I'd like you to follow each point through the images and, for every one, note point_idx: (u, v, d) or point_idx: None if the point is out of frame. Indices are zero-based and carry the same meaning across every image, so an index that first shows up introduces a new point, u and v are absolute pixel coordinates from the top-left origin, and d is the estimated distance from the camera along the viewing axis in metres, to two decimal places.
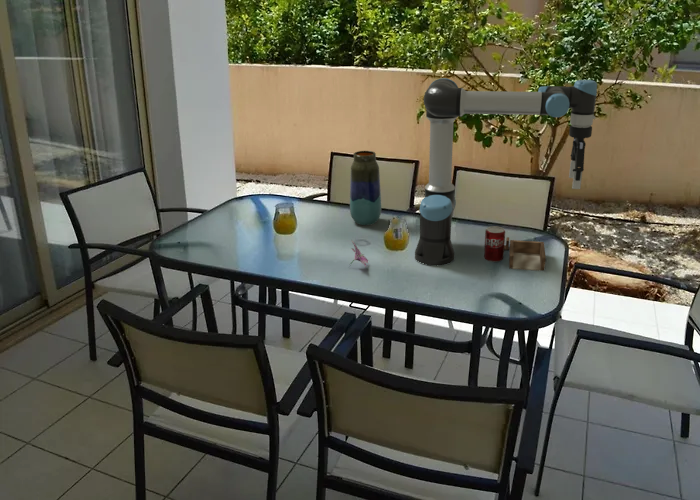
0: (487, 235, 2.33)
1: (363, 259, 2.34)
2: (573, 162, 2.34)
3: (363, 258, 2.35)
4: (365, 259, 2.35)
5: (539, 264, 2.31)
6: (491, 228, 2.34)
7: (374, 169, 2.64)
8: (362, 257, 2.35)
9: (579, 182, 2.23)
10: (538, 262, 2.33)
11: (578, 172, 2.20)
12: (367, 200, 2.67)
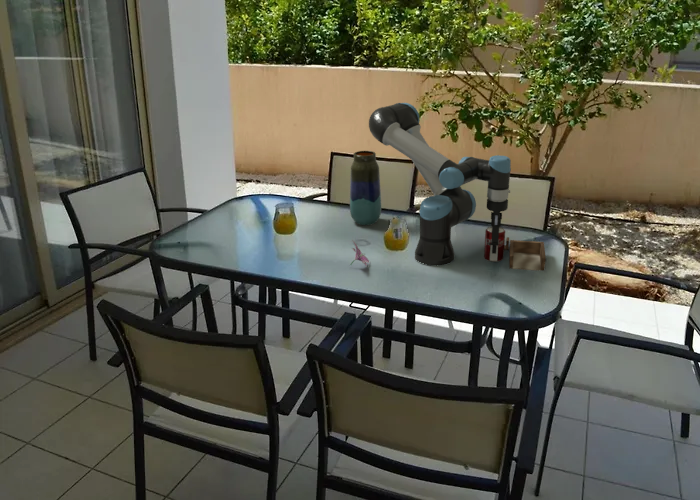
0: (487, 235, 2.33)
1: (364, 259, 2.35)
2: None
3: (364, 258, 2.35)
4: (366, 259, 2.36)
5: (539, 264, 2.31)
6: (491, 228, 2.34)
7: (374, 169, 2.64)
8: (363, 257, 2.35)
9: (496, 255, 2.33)
10: (538, 262, 2.33)
11: (494, 246, 2.30)
12: (367, 200, 2.67)
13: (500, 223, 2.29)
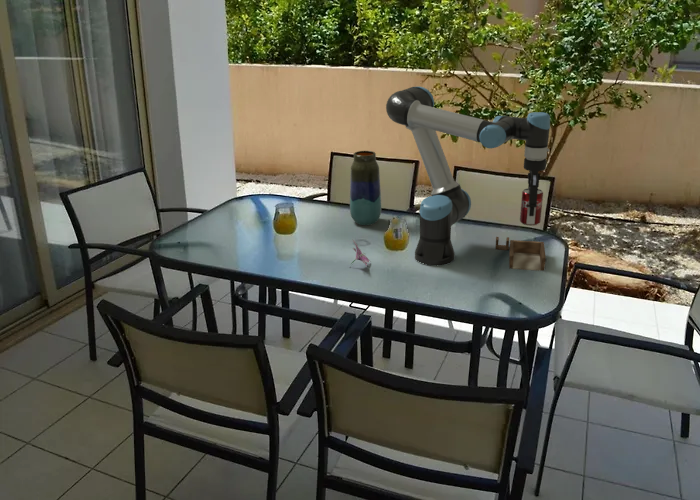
0: (524, 197, 2.22)
1: (364, 259, 2.35)
2: None
3: (364, 258, 2.35)
4: (366, 259, 2.36)
5: (539, 264, 2.31)
6: (528, 190, 2.24)
7: (374, 169, 2.64)
8: (363, 257, 2.35)
9: (533, 217, 2.22)
10: (538, 262, 2.33)
11: (531, 208, 2.20)
12: (367, 200, 2.67)
13: (538, 184, 2.19)
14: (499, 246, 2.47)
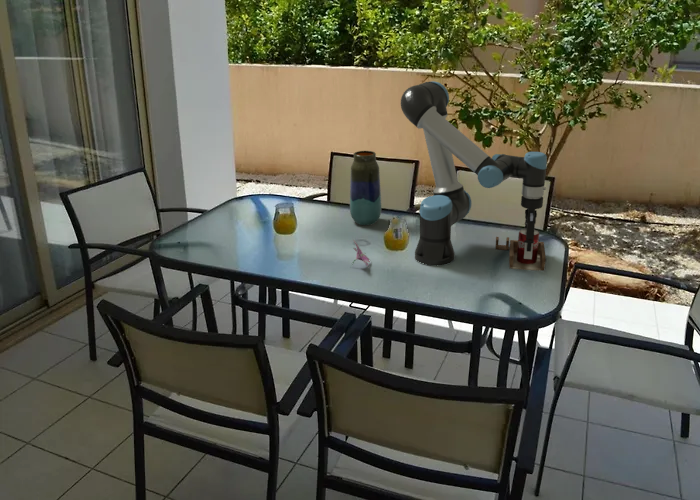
0: (521, 237, 2.28)
1: (365, 258, 2.35)
2: None
3: (365, 257, 2.35)
4: (367, 258, 2.36)
5: (539, 264, 2.31)
6: (524, 231, 2.30)
7: (374, 169, 2.64)
8: (364, 256, 2.35)
9: (530, 253, 2.25)
10: (538, 262, 2.33)
11: (529, 243, 2.23)
12: (367, 200, 2.67)
13: (535, 220, 2.23)
14: (499, 246, 2.47)
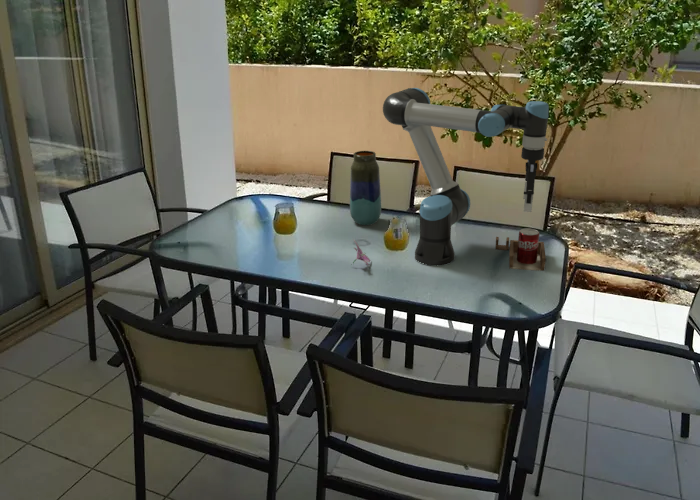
0: (521, 237, 2.28)
1: (365, 258, 2.35)
2: None
3: (365, 257, 2.35)
4: (367, 258, 2.36)
5: (539, 264, 2.31)
6: (525, 231, 2.30)
7: (374, 169, 2.64)
8: (364, 256, 2.35)
9: (530, 205, 2.19)
10: (538, 262, 2.33)
11: (529, 195, 2.16)
12: (367, 200, 2.67)
13: None
14: (499, 246, 2.47)
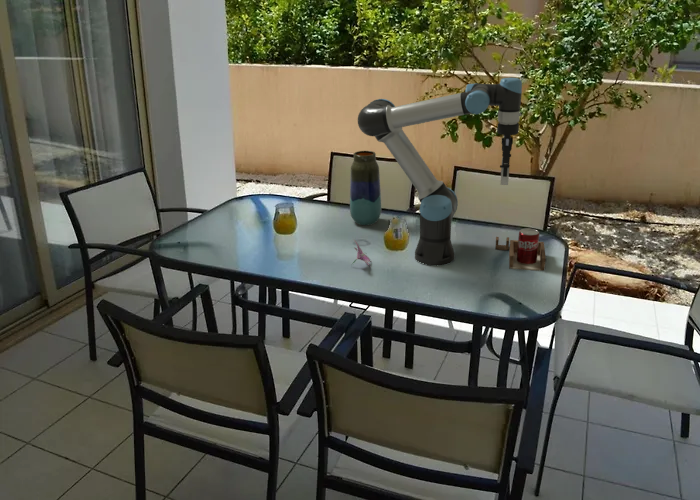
0: (521, 237, 2.28)
1: (365, 258, 2.35)
2: None
3: (365, 257, 2.36)
4: (367, 258, 2.36)
5: (539, 264, 2.31)
6: (525, 231, 2.30)
7: (374, 169, 2.64)
8: (364, 256, 2.36)
9: (506, 178, 2.27)
10: (538, 262, 2.33)
11: (505, 168, 2.24)
12: (367, 200, 2.67)
13: (511, 146, 2.26)
14: (499, 246, 2.47)
